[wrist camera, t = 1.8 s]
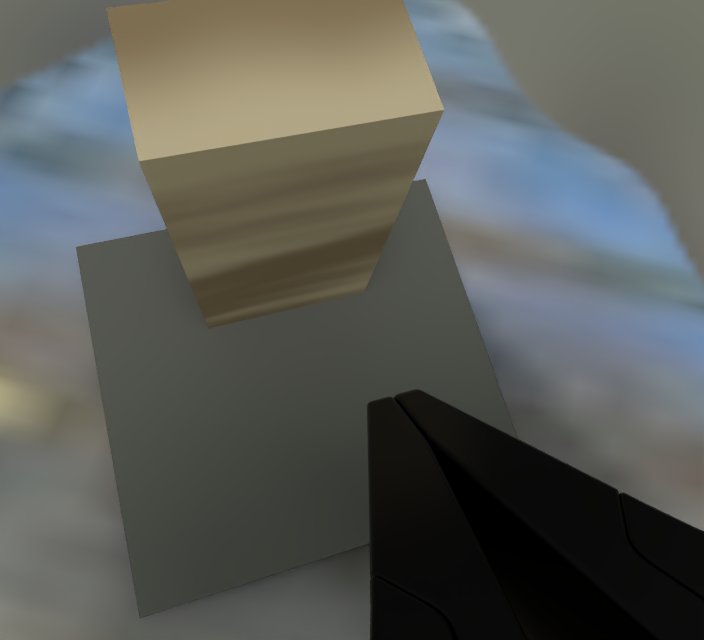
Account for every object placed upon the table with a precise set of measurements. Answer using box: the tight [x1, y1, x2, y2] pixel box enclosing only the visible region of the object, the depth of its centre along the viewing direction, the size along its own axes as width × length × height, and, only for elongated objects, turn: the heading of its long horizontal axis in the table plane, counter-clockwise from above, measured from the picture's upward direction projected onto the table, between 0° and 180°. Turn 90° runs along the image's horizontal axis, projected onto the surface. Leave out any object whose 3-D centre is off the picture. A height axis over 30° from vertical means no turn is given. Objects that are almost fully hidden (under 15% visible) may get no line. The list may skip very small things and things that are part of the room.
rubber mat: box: [76, 179, 518, 618], centre depth 21 cm, size 13×14×1 cm
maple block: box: [107, 0, 444, 328], centre depth 16 cm, size 4×6×11 cm, turn 106°
